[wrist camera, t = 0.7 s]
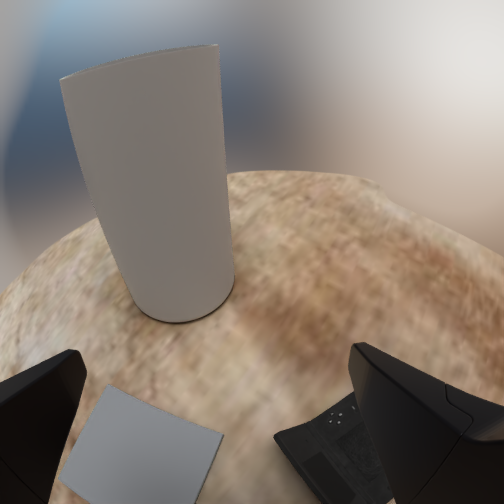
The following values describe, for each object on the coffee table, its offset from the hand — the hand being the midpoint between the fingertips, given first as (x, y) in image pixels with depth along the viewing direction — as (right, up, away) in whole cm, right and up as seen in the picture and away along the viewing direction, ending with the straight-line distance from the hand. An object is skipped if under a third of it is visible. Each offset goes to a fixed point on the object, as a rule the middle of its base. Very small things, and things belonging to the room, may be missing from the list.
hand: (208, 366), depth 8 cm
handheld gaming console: (+9, -14, +10) cm, 20 cm away
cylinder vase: (-7, 0, +26) cm, 27 cm away
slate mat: (-9, -15, +10) cm, 20 cm away
